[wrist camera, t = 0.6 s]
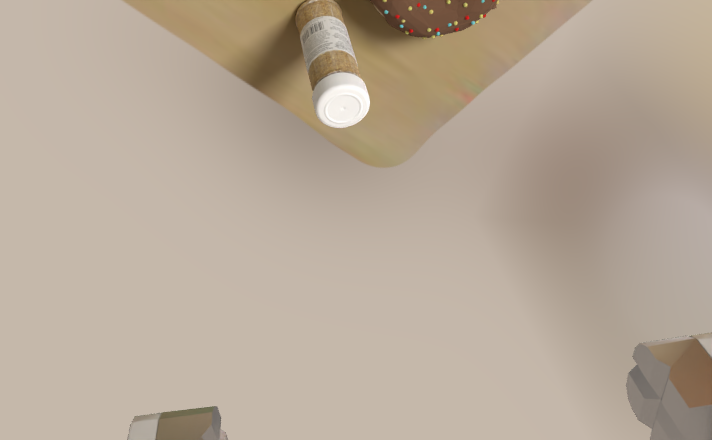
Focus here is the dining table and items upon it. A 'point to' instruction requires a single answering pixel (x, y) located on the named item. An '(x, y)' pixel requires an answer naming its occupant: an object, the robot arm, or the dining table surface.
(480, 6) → the donut
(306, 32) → the sprinkles bottle
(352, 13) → the dining table surface
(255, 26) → the dining table surface
